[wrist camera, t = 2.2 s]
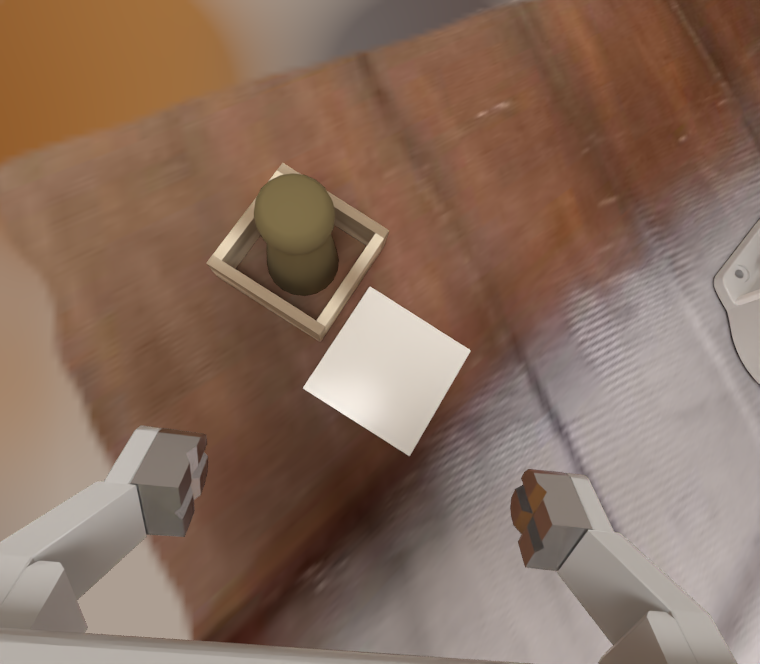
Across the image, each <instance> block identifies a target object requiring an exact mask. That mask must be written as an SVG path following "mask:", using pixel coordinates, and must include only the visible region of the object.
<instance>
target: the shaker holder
mask: <svg viewBox="0 0 760 664" xmlns="http://www.w3.org/2000/svg"><path fill="white" fill-rule="evenodd" d="M291 173H294V174H300V173H298V172H296V171H295V170H293V169H292V168H290V167H289V166H287V165H285V164H284V163H282V164H281V166H280V167H279V168H278V170H277V171H276V172H275V174H274V175H273V176H272V178H271V179H270V180H272V179H274V178H276V177H278V176H280V175H285V174H291ZM270 180H269V181H270ZM269 181H268V182H269ZM327 192H328V191H327ZM328 194H329V195H330V197H331V199H332V201H333V205H334V209H335V220H334V225H335V226H337V227H338V228H340V229H341V230H343V231H345V232H346V233H348V234H349V235H351V236H352V237H354V238H356V239H357V240H359V241H360V242H362V243H363V244H365V245H367V247H366V248H365V250H364V251H363V252H362V254H361V255H360V257H359V258H358V260H357V261H356V263H355V264H354V266H353V267H352V269H351V270H350V272H349V273H348V275H347V276H346V278H345V279H344V281H343V282H342V284H341V285H340V287H339V288H338V290H337V291H336V292H335V294H334V295H333V297H332V298H331V300H330V301H329V303H328V304H327V306H326V307H325V309H324V310H323V312H322V313H321V315H320V316H319V318H318V319H317V321H316V320H314V319H313V318H311V317H310V316H308V315H307V314H305V313H303V312H302V311H300V310H299V309H297V308H296V307H294V306H292V305H291V304H289V303H288V302H286V301H285V300H283V299H281V298H280V297H278V296H277V295H275V294H274V293H272V292H270V291H269V290H267V289H266V288H264V287H263V286H261V285H259V284H258V283H256V282H255V281H253V280H252V279H250V278H248V277H247V276H245V275H244V274H242V273H241V272H239V271H237V270H236V268H237V266H238V265H239V263H240V262H241V261H242V259H243V258H244V257H245V255H246V254H247V253H248V251H249V250H250V249H251V247H252V246H253V245H254V243H255V242H256V241H257V239H258V238H259V237H260V233H259V231H258V229H257V227H256V224H255V219H254V207H255V200H256V199H255V200H254V201H253V203H252V204H251V205H250V206H249V208H248V209H247V210H246V212H245V213H244V214H243V216H242V217H241V218H240V220H239V221H238V222H237V224H236V225H235V226H234V227H233V229H232V230H231V231H230V233H229V234H228V235H227V237H226V238H225V239H224V241H223V242H222V243H221V245H220V246H219V247H218V249H217V250H216V251H215V252H214V254H213V255H212V256H211V258H210V259H209V260H208V262H207V265H208V266H209V267H210V268H211V269H212V271H213V272H214V273H215V274H216V275H217V277H219V278H220V279H222V280H223V281H225V282H227V283H228V284H230V285H231V286H233V287H234V288H236V289H238V290H239V291H241V292H242V293H244V294H245V295H247V296H249V297H250V298H252V299H253V300H255V301H256V302H258V303H260V304H261V305H263V306H264V307H266V308H267V309H269V310H271V311H272V312H274V313H275V314H277V315H278V316H280V317H282V318H283V319H285V320H286V321H288V322H289V323H291V324H293V325H294V326H296V327H297V328H299V329H300V330H302V331H304V332H305V333H307V334H308V335H310V336H311V337H313V338H315V339H316V340H318V341H319V342H321V341H322V339H323V338H324V336H325V335H326V333H327V332H328V330H329V329H330V327H331V326H332V324H333V323H334V321H335V320H336V318H337V316H338V315H339V313H340V312H341V310H342V309H343V307H344V306H345V304H346V303H347V301H348V300H349V298H350V297H351V295H352V294H353V292H354V291H355V289H356V288H357V286H358V285H359V283H360V282H361V280H362V279H363V277H364V276H365V274H366V273H367V271H368V270H369V268H370V267H371V265H372V264H373V262H374V261H375V259H376V258H377V256H378V255H379V253H380V252H381V250H382V249H383V247H384V245H385V242H386V239H387V236H388V233H389V230H388V229H386V228H384V227H383V226H381V225H380V224H378V223H377V222H375V221H373V220H372V219H370V218H369V217H367V216H366V215H364V214H362V213H361V212H359V211H358V210H356V209H355V208H353V207H351V206H350V205H348V204H347V203H345V202H344V201H342V200H340V199H339V198H337V197H336V196H334V195H333V194H331V193H329V192H328Z"/></svg>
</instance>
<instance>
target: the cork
mask: <svg viewBox="0 0 760 664" xmlns="http://www.w3.org/2000/svg"><path fill="white" fill-rule="evenodd" d="M254 219H255V224H256V227H257V229H258V231H259V233H260V235H261V236H262V238H263V240H264V241H266V242H267V265H268V270H269V274H270V276H271V277H272V279H273V281H274V282H275V283H276V284H277V285H278V286H279V287H280V288H281V289H283V290H284V291H287V292H289V293H291V294H294V295H303V296H306V295H311V294H316V293H318V292H319V291H321V290H323V289H325V288H326V287H327V286H328V285H329V284H330V283H331V282H332V281H333V279H334V277H335V275H336V273H337V271H338V262H339V259H338V255H337V251H336V247H335V244H334V241H333V239H332V236H331V232H332V230H333V228H334V220H335V209H334V205H333V201H332V199H331V197H330V195H329V194H328V192H327V191H326V189H325V187H323V186H322V185H321V184H320V183H319V182H318V181H316V180H315V179H313V178H310V177H308V176H306V175H302V174H294V173H291V174H285V175H280V176H278V177H276V178H274V179H272V180H270V181H269V182H267V183H266V184H265V185H264V186H263V187H262V188H261V190H260V192H259V194H258V196H257V197H256V200H255V207H254Z"/></svg>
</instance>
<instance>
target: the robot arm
mask: <svg viewBox="0 0 760 664" xmlns="http://www.w3.org/2000/svg"><path fill="white" fill-rule="evenodd" d="M735 274H736V275H735ZM736 276H737V277H736ZM714 287H715V290H716V292H717V294H718V296H719V298H720V300H721V302H722V304H723V305H724V307H725V309H726V310H727V313H728V317H729V321H730V327H731V333H732V337H733V341H734V344H735V347H736V350H737V352H738V354H739V356H740V358H741V360H742V362H743V364H744V365H745V367H746V369H747V370H748V371H749V373H750V374H751V375H752V377H753V378H754V379H755V380H756V381H757V382H758V383H759V384H760V219H759V220H758V222H757V223H756V224H755V226H754V227H753V228H752V229H751V231H750V232H749V233H748V235H747V236H746V237H745V239H744V240H743V241H742V242H741V244H740V245H739V246H738V248H737V249H736V250H735V251H734V253H733V254H732V255H731V257H730V258H729V259H728V261H727V262H726V263H725V264H724V266H723V267H722V268H721V270H720V271H719V272H718V273H717V275H716V276H715V279H714ZM206 445H207V438H206V434H203V433H196V432H188V431H181V430H174V429H166V428H157V427H149V426H140V427H138V428H137V429H136V430H135V431H134V433H133V434H132V436H131V438H130V439H129V441H128V443H127V444H126V446H125V447H124V449H123V451H122V452H121V454H120V456H119V457H118V459H117V461H116V462H115V464H114V465H113V467H112V469H111V470H110V472H109V474H108V475H107V477H106V479H105V480H104V482H103V481H96V482H95V483H93V484H91V485H90V486H88V487H87V488H85V489H84V490H82V491H80V492H79V493H78V494H76V495H74V496H72V497H71V498H69V499H68V500H66V501H64V502H63V503H61V504H60V505H58V506H57V507H55V508H53V509H52V510H50V511H49V512H47V513H46V514H44V515H42V516H41V517H39V518H37V519H36V520H34V521H33V522H32V523H30V524H28V525H26V526H25V527H23V528H22V529H20V530H19V531H17V532H15V533H14V534H12V535H10V536H9V537H7V538H6V539H4V540H3V541H1V542H0V664H531V663H516V662H502V661H487V660H473V659H458V658H444V657H429V656H414V655H400V654H385V653H371V652H356V651H341V650H327V649H312V648H298V647H283V646H268V645H253V644H239V643H224V642H209V641H194V640H180V639H165V638H150V637H136V636H121V635H106V634H91V633H85V632H86V630H87V628H88V627H87V624H86V621H85V619H84V616H83V614H82V612H81V609H80V607H79V604H78V602H77V600H78V599H79V598H80V597H81V596H82V595H84V594H85V593H86V592H87V591H88V590H89V589H90V588H91V587H92V586H93V585H94V584H96V583H97V582H98V581H99V580H100V579H101V578H102V577H103V576H104V575H105V574H107V573H108V572H109V571H110V570H111V569H112V568H113V567H114V566H115V565H116V564H117V563H119V562H120V561H121V560H122V558H124V557H125V556H126V555H127V554H128V553H129V552H130V551H132V549H134V548H135V547H136V546H137V545H138V544H139V543H140V542H142V541H143V540H144V539H145V538H146V537H147V535H146V534H148V535H164V536H180V537H185V535H186V532H187V530H188V527H189V524H190V522H191V519H192V517H193V514H194V511H195V510H194V500H195V499H196V498H197V497H199V496H200V495H201V493H202V490H203V487H204V485H205V481H206V476H207V472H208V456H207V455H206V454H205V453H204V450H205V448H206ZM521 479H522V482H523V485H522V486H520V487H518V488H516V489H515V491H514V493H513V496H512V498H511V507H510V509H511V517H512V521H513V525H514V526H515V528H516V529H517V530H518V531H519V532H520V533H521V534H522V535H521V537H520V539H519V541H518V543H519V547H520V550H521V554H522V558H523V561H524V565H525V567H527V568H536V569H544V570H553V571H558V572H557V573H558V575H559V576H560V577H561V579H562V580H563V581H564V582H565V584H566V585H567V586H568V588H569V589H570V590H571V591H572V593H573V594H574V595H575V597H576V598H577V599H578V600H579V602H580V603H581V604H582V606H583V607H584V608H585V610H586V611H587V612H588V613H589V615H590V616H591V617H592V619H593V620H594V621H595V622H596V624H597V625H598V626H599V628H600V629H601V630H602V631H603V633H604V634H605V635H606V637H607V638H608V639H609V641H610V642H611V643H612V644H613V646H612V647H611V648H610V649H609V650H608V651H607V652H606V653H605V654H604V655H603V656H602V657H601V659H600V661H599V662H598V663H599V664H737V662H736V660H735V659H734V657H733V655H732V653H731V651H730V650H729V648H728V646H727V644H726V643H725V641H724V639H723V637H722V636H721V634H720V632H719V630H718V628H717V627H716V625H715V623H714V621H713V620H712V618H711V616H710V614H709V613H707V612H706V611H705V610H704V609H703V608H702V607H701V606H700V605H699V604H698V603H696V602H695V601H694V600H693V599H692V598H691V597H690V596H689V595H688V594H687V593H685V592H684V591H683V590H682V589H681V588H680V587H679V586H678V585H677V584H676V583H674V582H673V581H672V580H671V579H670V578H669V577H668V576H667V575H666V574H665V573H663V572H662V571H661V570H660V569H659V568H658V567H657V566H656V565H655V564H654V563H652V562H651V561H650V560H649V559H648V558H647V557H646V556H645V555H644V554H642V553H641V552H640V551H639V550H638V549H637V548H636V547H635V546H634V545H633V544H631V543H630V542H629V541H628V540H627V539H626V538H625V537H624V536H623V535H622V534H620V533H617V532H614V531H613V529H612V526H611V524H610V522H609V520H608V518H607V516H606V514H605V512H604V510H603V508H602V506H601V503H600V501H599V499H598V497H597V495H596V493H595V491H594V489H593V487H592V485H591V482H590V480H589V479H588V478H587V477H586V476H585V475H580V474H570V473H563V472H554V471H543V470H533V469H528V470H527V471H525V472H524V474H523V476H522V478H521Z"/></svg>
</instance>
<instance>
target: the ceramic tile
mask: <svg viewBox="0 0 760 664" xmlns="http://www.w3.org/2000/svg"><path fill="white" fill-rule="evenodd" d="M470 351H471V350H469V349H468V348H466V347H464V346H463V345H461V344H460V343H458V342H457V341H455V340H453V339H452V338H450V337H449V336H447V335H446V334H444V333H442V332H441V331H439V330H438V329H436V328H435V327H433V326H431V325H430V324H428V323H427V322H425V321H424V320H422V319H420V318H419V317H417V316H416V315H414V314H413V313H411V312H409V311H408V310H406V309H405V308H403V307H402V306H400V305H398V304H397V303H395V302H394V301H392V300H391V299H389V298H387V297H386V296H384V295H383V294H381V293H380V292H378V291H376V290H375V289H373V288H372V287H369V288H368V290H367V291H366V293H365V294H364V296H363V297H362V299H361V300H360V302H359V303H358V305H357V307H356V308H355V310H354V311H353V313H352V314H351V316H350V317H349V319H348V320H347V322H346V323H345V325H344V326H343V328H342V329H341V331H340V332H339V334H338V335H337V337H336V338H335V340H334V341H333V343H332V344H331V346H330V348H329V349H328V351H327V352H326V354H325V355H324V357H323V358H322V360H321V361H320V363H319V364H318V366H317V367H316V369H315V370H314V372H313V373H312V375H311V376H310V378H309V379H308V381H307V382H306V384H305V386H304V387H303V389H304V390H306V391H307V392H309V393H311V394H312V395H314V396H315V397H317V398H318V399H320V400H322V401H323V402H325V403H326V404H328V405H329V406H331V407H333V408H334V409H336V410H337V411H339V412H340V413H342V414H344V415H345V416H347V417H348V418H350V419H351V420H353V421H355V422H356V423H358V424H359V425H361V426H362V427H364V428H366V429H367V430H369V431H370V432H372V433H373V434H375V435H377V436H378V437H380V438H381V439H383V440H384V441H386V442H388V443H389V444H391V445H392V446H394V447H395V448H397V449H399V450H400V451H402V452H403V453H405V454H406V455H408V456H410V455H411V453H412V451H413V450H414V448H415V446H416V444H417V443H418V441H419V439H420V438H421V436H422V434H423V432H424V431H425V429H426V427H427V425H428V424H429V422H430V420H431V419H432V417H433V415H434V413H435V412H436V410H437V408H438V406H439V405H440V403H441V401H442V400H443V398H444V396H445V394H446V393H447V391H448V389H449V387H450V386H451V384H452V382H453V381H454V379H455V377H456V375H457V374H458V372H459V370H460V369H461V367H462V365H463V363H464V362H465V360H466V358H467V356H468V355H469V353H470Z"/></svg>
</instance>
